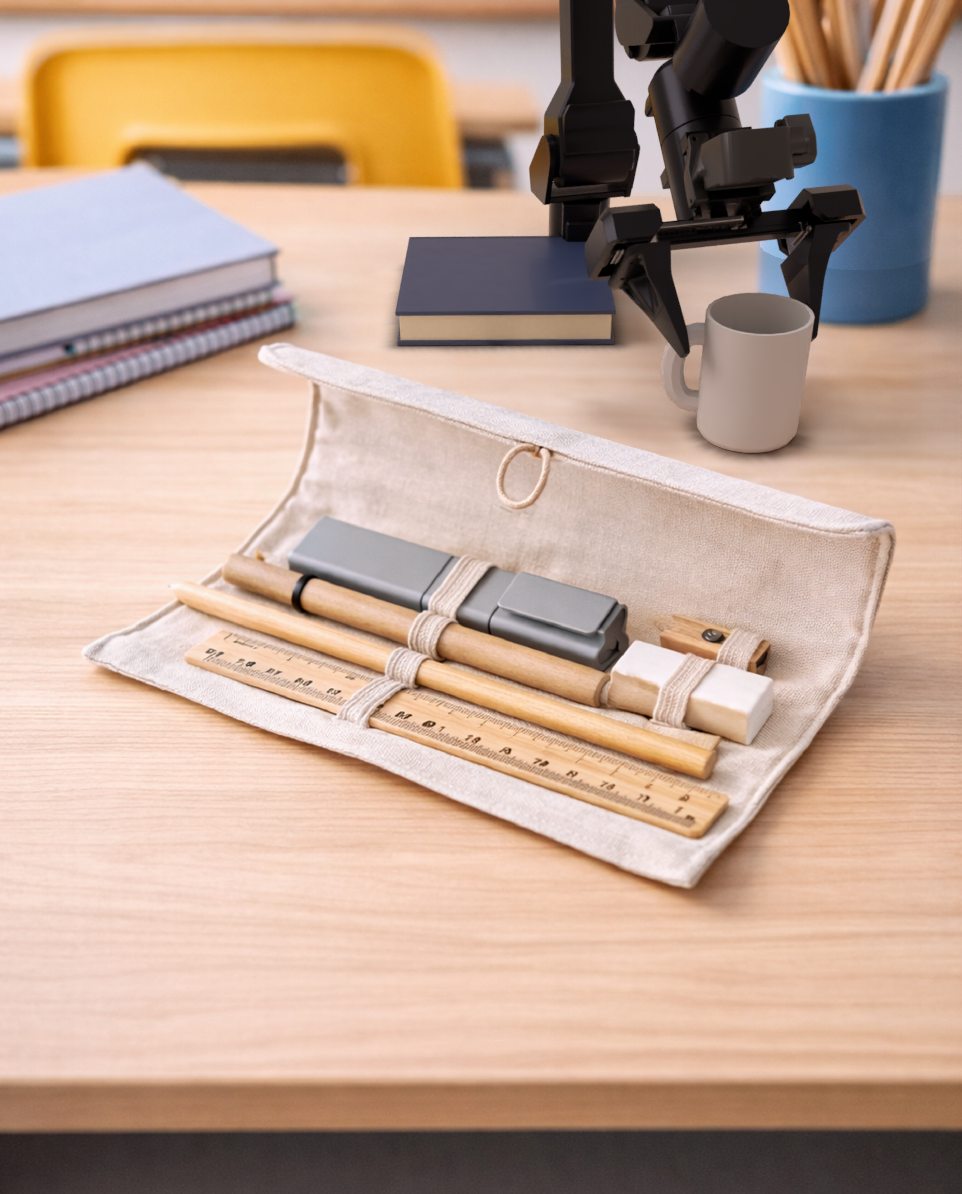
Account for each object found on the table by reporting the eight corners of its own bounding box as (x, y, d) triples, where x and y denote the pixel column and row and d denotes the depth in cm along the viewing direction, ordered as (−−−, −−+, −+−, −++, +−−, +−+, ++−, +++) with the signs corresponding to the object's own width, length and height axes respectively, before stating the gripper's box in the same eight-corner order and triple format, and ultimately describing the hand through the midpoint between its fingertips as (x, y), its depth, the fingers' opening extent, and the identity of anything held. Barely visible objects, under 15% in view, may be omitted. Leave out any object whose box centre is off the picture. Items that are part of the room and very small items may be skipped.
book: (410, 267, 114) (409, 236, 112) (599, 266, 113) (601, 235, 112) (397, 345, 99) (395, 311, 97) (614, 344, 99) (615, 310, 97)
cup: (796, 459, 83) (814, 339, 77) (652, 447, 84) (660, 329, 79) (797, 410, 88) (814, 295, 83) (661, 400, 90) (669, 287, 85)
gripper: (603, 79, 74) (654, 314, 72) (876, 58, 78) (934, 281, 75) (564, 174, 85) (607, 380, 83) (805, 151, 88) (853, 349, 86)
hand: (749, 347), depth 81 cm, fingers open, 9 cm apart
